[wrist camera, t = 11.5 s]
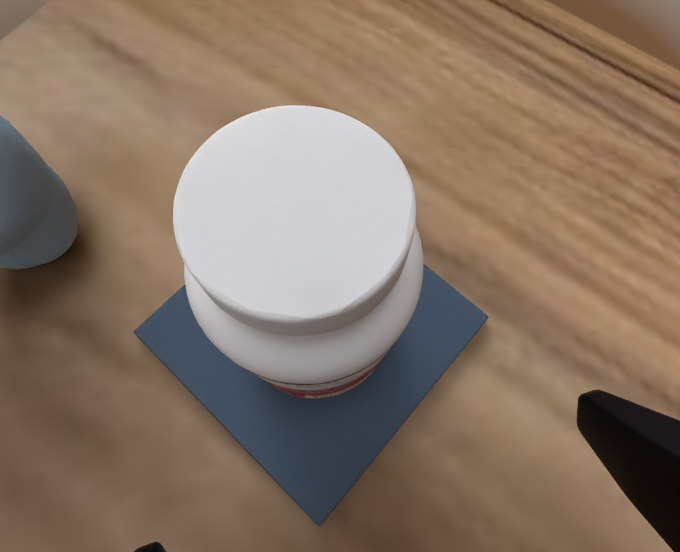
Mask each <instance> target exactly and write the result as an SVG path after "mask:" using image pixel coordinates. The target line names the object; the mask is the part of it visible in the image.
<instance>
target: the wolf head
mask: <svg viewBox="0 0 680 552" xmlns="http://www.w3.org/2000/svg"><path fill="white" fill-rule="evenodd" d="M77 231H78V221H77V214H76V209H75V205H74V202H73V200H72V198H71V195H70V193H69V192H68V190H67V188H66V186H65V184H64V183H63V181H62V180H61V179H60V178H59V176H58V175H57V174H56V173H55V172H54V171H53V170H52V169H51V168H50V167H49V166H48V165H47V164H46V163H45V162H44V160H43V159H42V158H41V156H40V155H39V154H38V153H37V152H36V151H35V149H34V148H33V147H32V146H31V145H30V144H29V143H28V142H27V141H26V139H25V138H24V137H23V136H22V135H21V134H20V133H19V132H18V131H17V130H16V129H15V128H14V127H13V126H12V125H11V124H10V123H9V122H8V121H7V120H5V119H4V118H3V117H1V116H0V267H2V268H8V269H25V268H30V267H34V266H37V265H41V264H45V263H48V262H51V261H53V260H55V259H57V258H58V257H60V256H61V255H62V254H63V253H64V252H66V251H67V250H68V248H69V247H70V246H71V245H72V243H73V242H74V240H75V238H76V236H77Z"/></svg>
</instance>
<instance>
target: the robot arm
mask: <svg viewBox="0 0 680 552" xmlns="http://www.w3.org/2000/svg"><path fill="white" fill-rule="evenodd" d="M577 426H578V429H579V431H580V432H581V434H582V435H583V437H584V438H585V440H586V441H587V442H588V444H589V445H590V447H591V448H592V449H593V451H594V452H595V453H596V455H597V456H598V458H599V459H600V460H601V462H602V463H603V465H604V466H605V467H606V469H607V470H608V472H609V473H610V474H611V476H612V477H613V478H614V480H615V481H616V483H617V484H618V485H619V487H620V488H621V489H622V491H623V492H624V493H625V495H626V496H627V497H628V499H629V500H630V501H631V502H632V503H633V505H634V506H635V507H636V508H637V509H638V511H639V512H640V513H641V514H642V515H643V516H644V518H645V519H646V520H647V521H648V522H649V523H650V524H651V526H652V527H653V528H654V529H655V530H656V531H657V533H658V534H659V535H660V536H661V537H662V538H663V539H664V541H665V542H666V543H667V544H668V545H669V546H670V548H671V549H672V550H673V551H674V552H680V421H679V420H677V419H674V418H672V417H669V416H666V415H664V414H661V413H659V412H656V411H653V410H651V409H648V408H646V407H643V406H641V405H638V404H635V403H633V402H630V401H628V400H625V399H623V398H620V397H617V396H615V395H612V394H610V393H607V392H604V391H602V390H592V391H589V392H587V393H584V394H581V395H580V396H579V398H578V408H577ZM134 552H166V551H165V549H164V548H163V546H162V545H161V544H160V543H158V542H153V543H151V544H148V545H145V546H142V547H139V548H138V549H136V550H135V551H134Z"/></svg>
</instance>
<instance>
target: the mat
mask: <svg viewBox="0 0 680 552" xmlns="http://www.w3.org/2000/svg"><path fill="white" fill-rule="evenodd" d="M423 266H424V267H423V280H422V287H421V291H420V296H419V299H418V302H417V305H416V308H415V310H414V313H413V315H412V317H411V319H410V320H409V322H408V324H407V326H406V327H405V329H404V330H403V332H402V333H401V335H400V336H399V338H398V340H397V341H396V342H395V343H394V345H393V346H392V347H391V348H390V350H389V351H388V353H387V354H386V355H385V356H384V358H383V359H382V360H381V362H380V363H379V364H378V366H377V367H376V368H375V370H374V371H373V372H372V373H371V374H370V375H369V376H368V377H367V378H366V379H365V380H364V381H363V382H362V383H360V384H359V385H357V386H356V387H354V388H353V389H351V390H349V391H347V392H344V393H342V394H339V395H336V396H332V397H327V398H319V399H309V398H301V397H296V396H293V395H290V394H287V393H285V392H283V391H281V390H279V389H277V388H275V387H273V386H272V385H270V384H269V383H267V382H266V381H264V380H262V379H261V378H259V377H257V376H256V375H254V374H252V373H251V372H249V371H247V370H245V369H244V368H242V367H240V366H239V365H237V364H236V363H235V362H233V361H232V360H231V359H230V358H228V357H227V356H226V355H225V354H223V353H222V352H221V351H220V350H219V349H218V348H217V347H216V346H215V345H214V344H213V343H212V342H211V341H210V340H209V338H208V337H207V336H206V335H205V333H204V331H203V330H202V328H201V327H200V325H199V324H198V322H197V320H196V318H195V316H194V314H193V311H192V309H191V306H190V303H189V300H188V297H187V292H186V286H185V285H184V286H183V287H182V288H181V289H180V290H179V291H178V292H177V293H175V294H174V295H173V296H172V297H171V298H170V299H169V300H168V301H167V302H166V303H164V304H163V305H162V306H161V307H160V308H159V309H158V310H157V311H156V312H155V313H153V314H152V315H151V316H150V317H149V318H148V319H147V320H146V321H145V322H144V323H142V324H141V325H140V326H139V327H138V328H137V329H136V330H135V331H134V333H135V334H136V335H137V337H138V338H139V339H140V340H141V341H142V342H143V343H144V344H145V345H146V346H147V347H148V348H149V349H150V350H151V351H152V352H153V353H154V354H155V355H156V356H157V357H158V358H159V360H160V361H161V362H162V363H163V364H164V365H165V366H166V367H167V368H168V369H169V370H170V371H171V372H172V373H173V374H174V375H175V376H176V377H177V378H178V379H179V380H180V382H181V383H182V384H183V385H184V386H185V387H186V388H187V389H188V390H189V391H190V392H191V393H192V394H193V395H194V396H195V397H196V398H197V399H198V400H199V401H200V402H201V403H202V405H203V406H204V407H205V408H206V409H207V410H208V411H209V412H210V413H211V414H212V415H213V416H214V417H215V418H216V419H217V420H218V421H219V422H220V423H221V424H222V425H223V427H224V428H225V429H226V430H227V431H228V432H229V433H230V434H231V435H232V436H233V437H234V438H235V439H236V440H237V441H238V442H239V443H240V444H241V445H242V446H243V447H244V448H245V450H246V451H247V452H248V453H249V454H250V455H251V456H252V457H253V458H254V459H255V460H256V461H257V462H258V463H259V464H260V465H261V466H262V467H263V468H264V469H265V470H266V472H267V473H268V474H269V475H270V476H271V477H272V478H273V479H274V480H275V481H276V482H277V483H278V484H279V485H280V486H281V487H282V488H283V489H284V490H285V491H286V492H287V493H288V495H289V496H290V497H291V498H292V499H293V500H294V501H295V502H296V503H297V504H298V505H299V506H300V507H301V508H302V509H303V510H304V511H305V512H306V513H307V514H308V515H309V516H310V518H311V519H312V520H313V521H314V522H315V523H316V524H317V525H318V526H320V525H321V524H322V523H323V522H324V521H325V519H326V518H327V517H328V516H329V514H330V513H331V512H332V511H333V509H334V508H335V507H336V506H337V504H338V503H339V502H340V501H341V499H342V498H343V497H344V496H345V495H346V493H347V492H348V491H349V490H350V488H351V487H352V486H353V485H354V483H355V482H356V481H357V480H358V478H359V477H360V476H361V475H362V474H363V472H364V471H365V470H366V469H367V467H368V466H369V465H370V464H371V462H372V461H373V460H374V459H375V457H376V456H377V455H378V454H379V452H380V451H381V450H382V449H383V448H384V446H385V445H386V444H387V443H388V441H389V440H390V439H391V438H392V436H393V435H394V434H395V433H396V431H397V430H398V429H399V428H400V426H401V425H402V424H403V423H404V422H405V420H406V419H407V418H408V417H409V415H410V414H411V413H412V412H413V410H414V409H415V408H416V407H417V405H418V404H419V403H420V402H421V401H422V399H423V398H424V397H425V396H426V394H427V393H428V392H429V391H430V389H431V388H432V387H433V386H434V384H435V383H436V382H437V381H438V379H439V378H440V377H441V376H442V375H443V373H444V372H445V371H446V370H447V368H448V367H449V366H450V365H451V363H452V362H453V361H454V360H455V358H456V357H457V356H458V355H459V353H460V352H461V351H462V350H463V349H464V347H465V346H466V345H467V344H468V342H469V341H470V340H471V339H472V337H473V336H474V335H475V334H476V332H477V331H478V330H479V329H480V328H481V326H482V325H483V324H484V323H485V321H486V320H487V319H488V316H487V315H486V314H485V313H484V312H482V311H481V310H480V309H479V308H477V307H476V306H475V305H474V304H472V303H471V302H470V301H469V300H467V299H466V298H465V297H464V296H463V295H461V294H460V293H459V292H458V291H456V290H455V289H454V288H453V287H451V286H450V285H449V284H448V283H446V282H445V281H444V280H443V279H442V278H440V277H439V276H438V275H437V274H435V273H434V272H433V271H432V270H430V269H429V268H428V267H427V266H426V265H424V264H423Z"/></svg>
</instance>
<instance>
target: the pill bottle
mask: <svg viewBox="0 0 680 552" xmlns="http://www.w3.org/2000/svg"><path fill="white" fill-rule="evenodd" d="M173 227H174V233H175V239H176V242H177V246H178V249H179V252H180V254H181V256H182V259H183V261H184V279H185V286H186V292H187V297H188V300H189V303H190V306H191V309H192V311H193V314H194V316H195V318H196V320H197V322H198V324H199V325H200V327H201V328H202V330H203V331H204V333H205V335H206V336H207V337H208V338H209V340H210V341H211V342H212V343H213V344H214V345H215V346H216V347H217V348H218V349H219V350H220V351H221V352H222V353H223V354H225V355H226V356H227V357H228V358H230V359H231V360H232V361H233V362H235V363H236V364H237V365H239V366H240V367H242V368H244V369H245V370H247V371H249V372H251V373H252V374H254V375H256V376H257V377H259V378H261V379H262V380H264V381H266V382H267V383H269V384H270V385H272V386H273V387H275V388H277V389H279V390H281V391H283V392H285V393H287V394H290V395H293V396H296V397H301V398H309V399H319V398H327V397H332V396H336V395H339V394H342V393H344V392H347V391H349V390H351V389H353V388H354V387H356V386H357V385H359V384H360V383H362V382H363V381H364V380H365V379H366V378H367V377H368V376H369V375H370V374H371V373H372V372H373V371H374V370H375V368H376V367H377V366H378V364H379V363H380V362H381V360H382V359H383V358H384V356H385V355H386V354H387V353H388V351H389V350H390V348H391V347H392V346H393V345H394V343H395V342H396V341H397V340H398V338H399V336H400V335H401V333H402V332H403V330H404V329H405V327H406V326H407V324H408V322H409V320H410V319H411V317H412V315H413V313H414V310H415V308H416V305H417V302H418V299H419V296H420V291H421V287H422V280H423V267H424V266H423V251H422V246H421V241H420V237H419V233H418V230H417V227H416V198H415V193H414V189H413V185H412V182H411V179H410V176H409V174H408V172H407V170H406V167H405V166H404V164H403V162H402V161H401V159H400V157H399V156H398V155H397V153H396V152H395V150H394V149H393V148H392V147H391V146H390V144H389V143H388V142H387V141H386V140H385V139H383V138H382V137H381V136H380V135H379V134H378V133H376V132H375V131H374V130H372V129H371V128H370V127H368V126H367V125H365V124H363V123H362V122H360V121H358V120H356V119H354V118H352V117H350V116H347V115H345V114H343V113H339V112H336V111H333V110H329V109H325V108H319V107H313V106H280V107H272V108H268V109H263V110H260V111H257V112H254V113H251V114H248V115H245V116H243V117H241V118H238V119H237V120H235V121H233V122H231V123H230V124H228V125H226V126H224V127H223V128H221V129H220V130H219V131H217V132H216V133H215V134H213V135H212V136H211V137H210V138H209V139H208V140H207V141H205V143H204V144H203V145H202V146H201V147H200V148H199V149H198V150H197V151H196V153H195V154H194V155H193V157H192V158H191V159H190V161H189V162H188V164H187V166H186V168H185V170H184V172H183V173H182V176H181V178H180V181H179V184H178V187H177V191H176V194H175V199H174V207H173Z"/></svg>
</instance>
